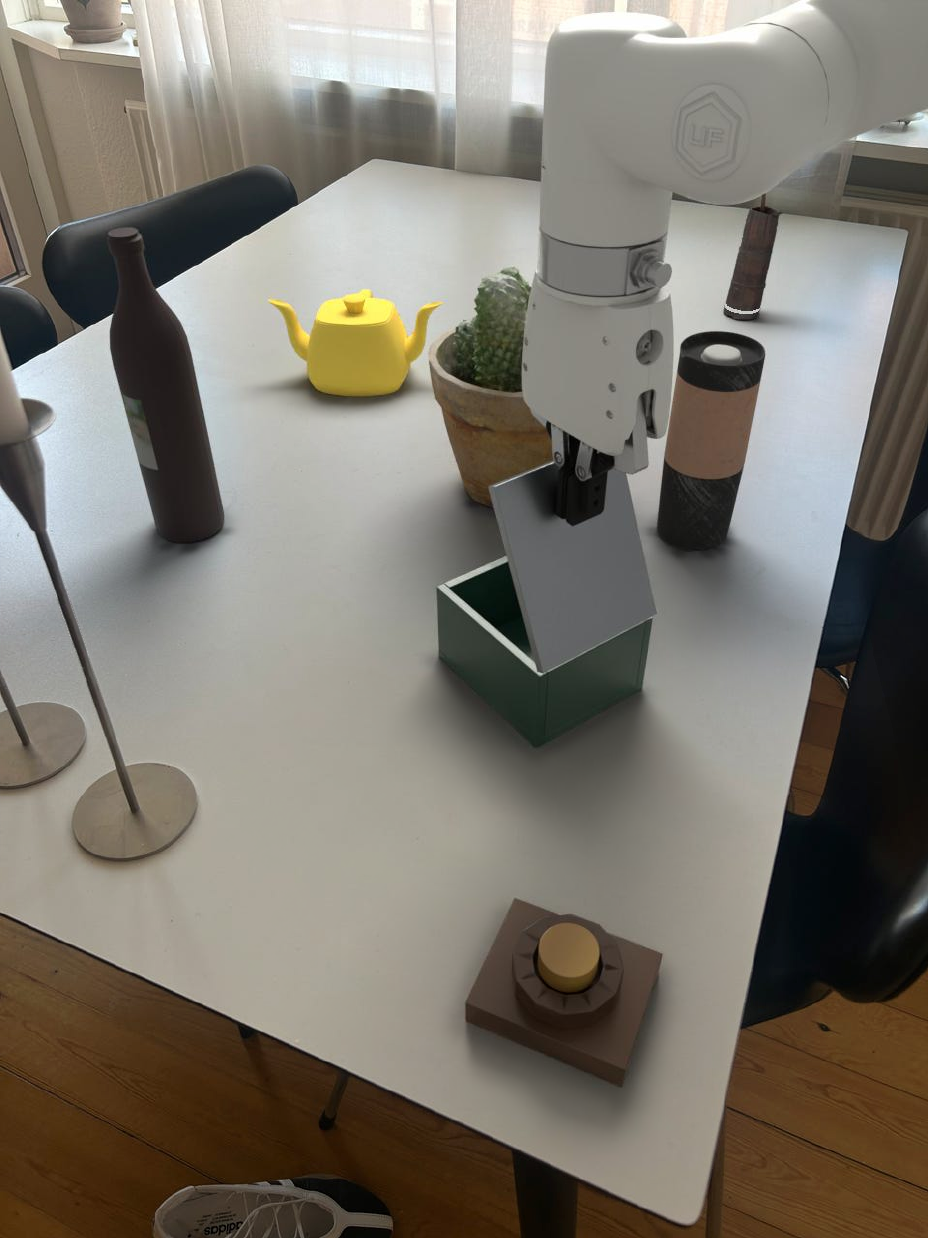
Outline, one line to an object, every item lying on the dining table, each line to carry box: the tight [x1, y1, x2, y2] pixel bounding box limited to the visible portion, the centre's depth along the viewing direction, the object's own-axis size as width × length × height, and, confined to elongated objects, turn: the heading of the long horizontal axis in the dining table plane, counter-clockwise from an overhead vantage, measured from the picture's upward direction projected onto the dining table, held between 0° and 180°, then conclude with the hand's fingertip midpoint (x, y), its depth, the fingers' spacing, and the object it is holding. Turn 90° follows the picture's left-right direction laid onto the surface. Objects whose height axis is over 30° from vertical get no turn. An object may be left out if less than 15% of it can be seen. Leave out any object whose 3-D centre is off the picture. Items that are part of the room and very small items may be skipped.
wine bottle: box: [106, 226, 225, 544], centre depth 91 cm, size 7×7×30 cm
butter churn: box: [723, 192, 784, 321], centre depth 132 cm, size 9×10×28 cm
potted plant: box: [427, 266, 553, 509], centre depth 98 cm, size 18×19×25 cm
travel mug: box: [656, 330, 766, 553], centre depth 93 cm, size 8×8×20 cm
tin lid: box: [488, 451, 658, 673], centre depth 72 cm, size 14×12×1 cm
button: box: [538, 923, 600, 993], centre depth 58 cm, size 4×4×2 cm
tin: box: [435, 555, 654, 749], centre depth 81 cm, size 14×12×8 cm
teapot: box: [267, 288, 443, 397], centre depth 125 cm, size 22×16×11 cm
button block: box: [464, 897, 664, 1088], centre depth 59 cm, size 10×8×4 cm
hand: (579, 514), depth 69 cm, fingers closed
